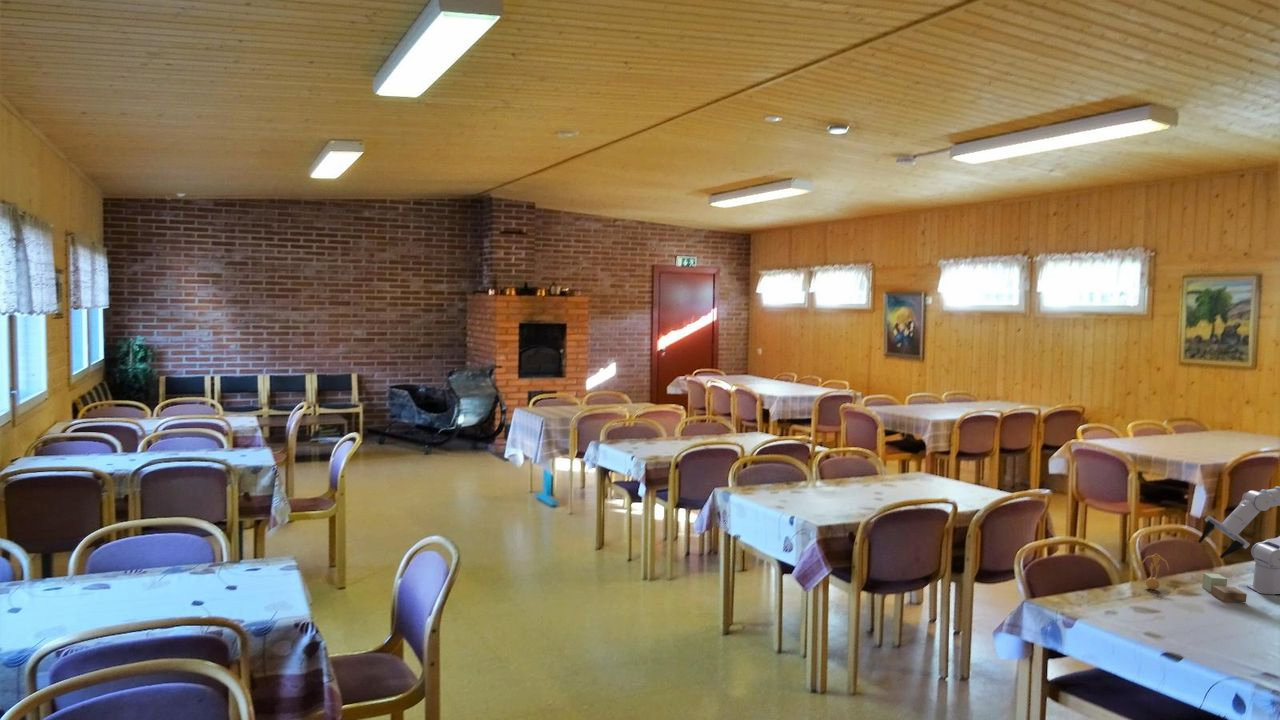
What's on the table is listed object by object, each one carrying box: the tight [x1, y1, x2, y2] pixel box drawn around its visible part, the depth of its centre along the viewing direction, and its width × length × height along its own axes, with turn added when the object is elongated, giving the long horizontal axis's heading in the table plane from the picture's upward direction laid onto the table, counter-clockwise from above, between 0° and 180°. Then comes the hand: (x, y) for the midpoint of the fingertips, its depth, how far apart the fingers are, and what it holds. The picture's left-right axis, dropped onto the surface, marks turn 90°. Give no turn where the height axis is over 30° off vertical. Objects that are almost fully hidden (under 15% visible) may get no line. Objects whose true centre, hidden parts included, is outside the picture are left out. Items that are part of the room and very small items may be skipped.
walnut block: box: [1211, 586, 1248, 603], centre depth 300 cm, size 7×7×3 cm
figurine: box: [1140, 552, 1170, 591], centre depth 307 cm, size 8×6×12 cm
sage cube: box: [1201, 572, 1228, 593], centre depth 309 cm, size 5×5×5 cm
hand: (1209, 549), depth 309 cm, fingers open, 7 cm apart
